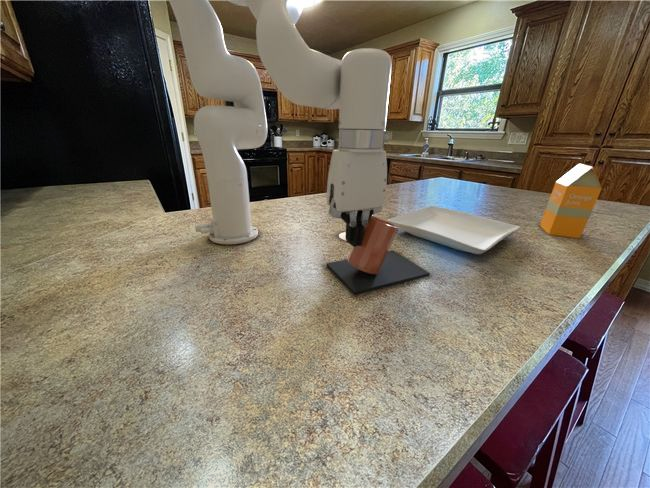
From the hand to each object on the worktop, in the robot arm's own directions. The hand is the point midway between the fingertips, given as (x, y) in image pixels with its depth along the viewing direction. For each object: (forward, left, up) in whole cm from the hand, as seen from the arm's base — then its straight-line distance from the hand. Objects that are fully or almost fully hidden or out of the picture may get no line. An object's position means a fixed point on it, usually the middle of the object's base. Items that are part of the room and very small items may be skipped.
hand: (353, 243), depth 51 cm
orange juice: (+73, -1, -8) cm, 74 cm away
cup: (+3, 0, -6) cm, 6 cm away
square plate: (+39, +10, -8) cm, 41 cm away
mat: (+6, 0, -7) cm, 10 cm away
